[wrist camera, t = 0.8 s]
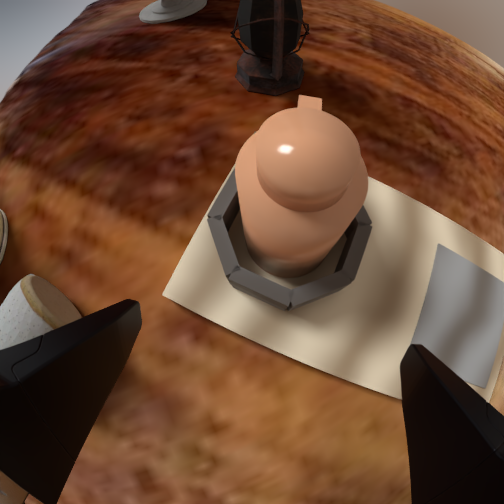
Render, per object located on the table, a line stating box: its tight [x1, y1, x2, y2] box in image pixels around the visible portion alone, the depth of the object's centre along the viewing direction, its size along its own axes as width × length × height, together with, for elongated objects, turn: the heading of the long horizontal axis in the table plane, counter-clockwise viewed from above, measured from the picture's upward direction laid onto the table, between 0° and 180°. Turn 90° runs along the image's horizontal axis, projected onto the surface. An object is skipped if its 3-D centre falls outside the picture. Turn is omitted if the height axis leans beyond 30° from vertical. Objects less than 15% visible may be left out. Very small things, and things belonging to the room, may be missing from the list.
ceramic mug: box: [0, 274, 82, 350], centre depth 18 cm, size 11×8×8 cm
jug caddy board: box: [162, 132, 504, 403], centre depth 20 cm, size 30×16×4 cm, turn 65°
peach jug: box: [235, 95, 368, 278], centre depth 17 cm, size 9×6×11 cm
